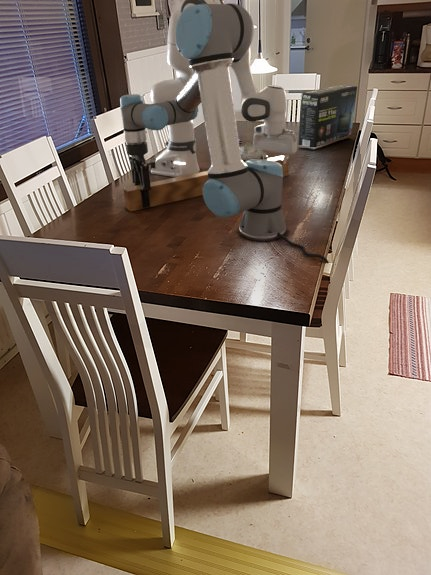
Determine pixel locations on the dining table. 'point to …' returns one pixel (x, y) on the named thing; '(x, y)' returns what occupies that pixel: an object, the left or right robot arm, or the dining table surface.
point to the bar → (176, 188)
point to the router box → (326, 115)
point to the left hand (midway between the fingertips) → (274, 162)
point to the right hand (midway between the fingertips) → (143, 204)
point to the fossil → (249, 152)
